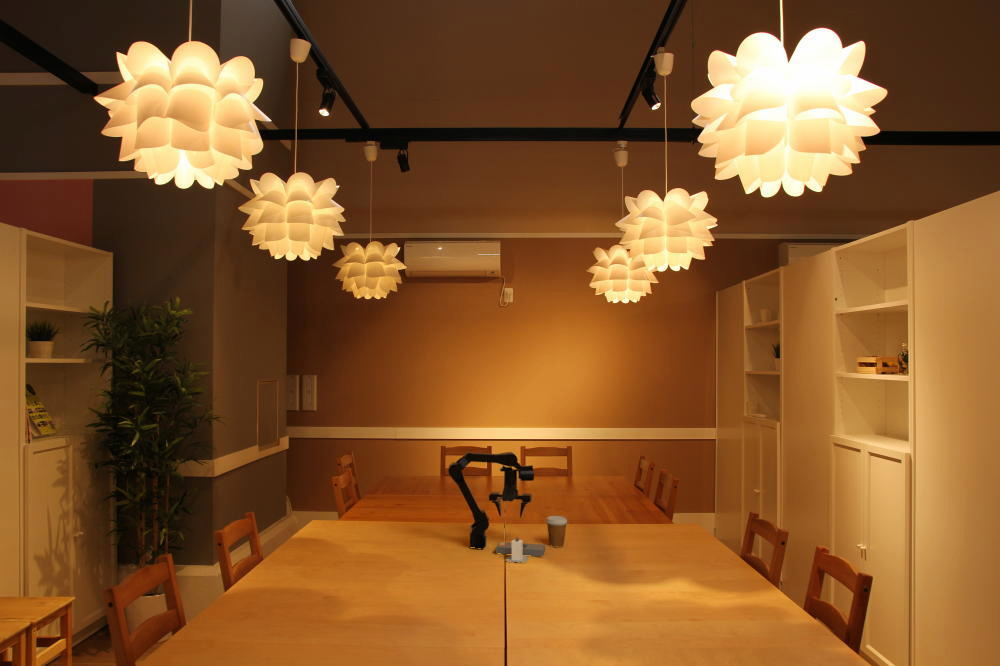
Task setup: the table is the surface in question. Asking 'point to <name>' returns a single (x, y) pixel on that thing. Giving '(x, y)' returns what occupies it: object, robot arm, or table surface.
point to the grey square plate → (517, 560)
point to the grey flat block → (527, 549)
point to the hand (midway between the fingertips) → (510, 516)
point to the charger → (517, 549)
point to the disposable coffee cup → (556, 530)
